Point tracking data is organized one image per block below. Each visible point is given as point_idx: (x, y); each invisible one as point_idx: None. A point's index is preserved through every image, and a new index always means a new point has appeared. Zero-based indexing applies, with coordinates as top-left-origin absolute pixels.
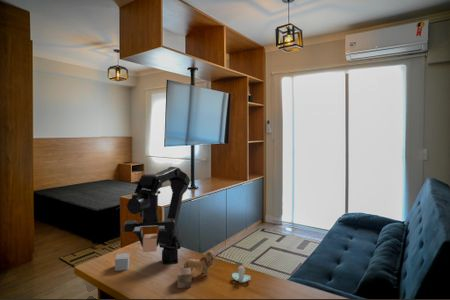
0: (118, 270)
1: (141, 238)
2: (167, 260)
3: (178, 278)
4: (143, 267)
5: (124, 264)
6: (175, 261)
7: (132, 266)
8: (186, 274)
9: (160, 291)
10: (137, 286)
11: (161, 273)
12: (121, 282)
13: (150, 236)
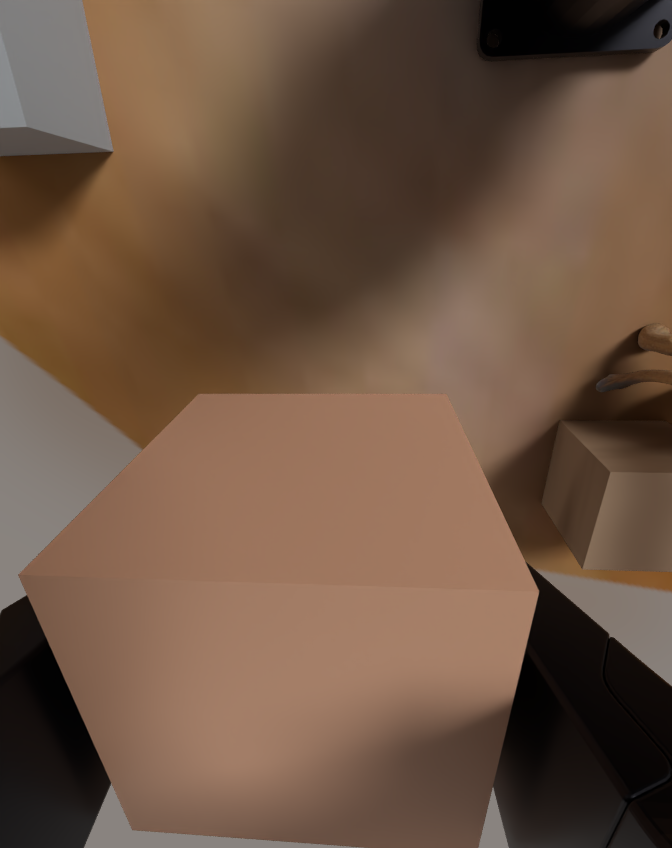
0: (27, 154)
1: (80, 824)
2: (545, 18)
3: (574, 548)
4: (259, 115)
5: (42, 143)
6: (643, 26)
7: (134, 67)
8: (656, 571)
9: None
10: None
11: (444, 280)
12: (140, 373)
13: (297, 740)
